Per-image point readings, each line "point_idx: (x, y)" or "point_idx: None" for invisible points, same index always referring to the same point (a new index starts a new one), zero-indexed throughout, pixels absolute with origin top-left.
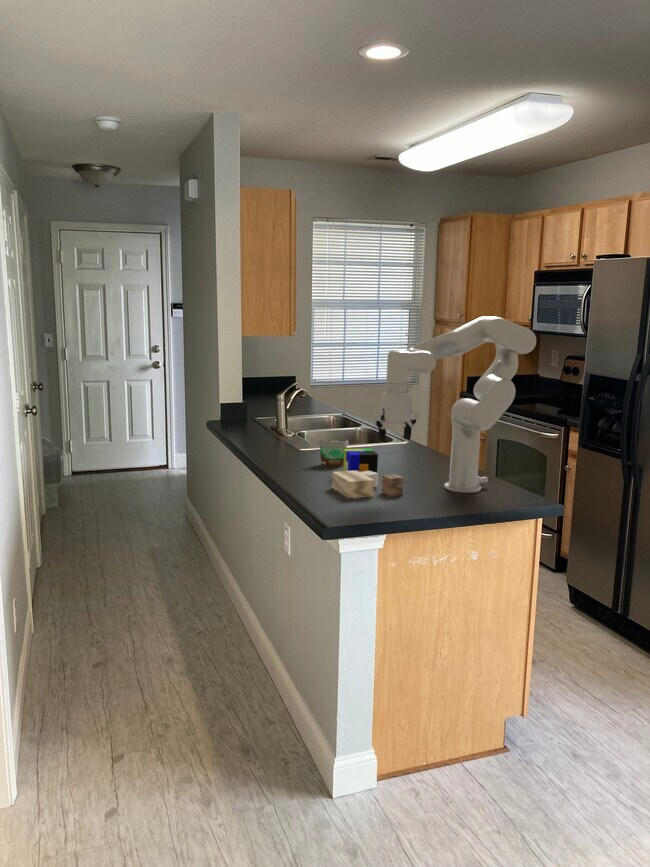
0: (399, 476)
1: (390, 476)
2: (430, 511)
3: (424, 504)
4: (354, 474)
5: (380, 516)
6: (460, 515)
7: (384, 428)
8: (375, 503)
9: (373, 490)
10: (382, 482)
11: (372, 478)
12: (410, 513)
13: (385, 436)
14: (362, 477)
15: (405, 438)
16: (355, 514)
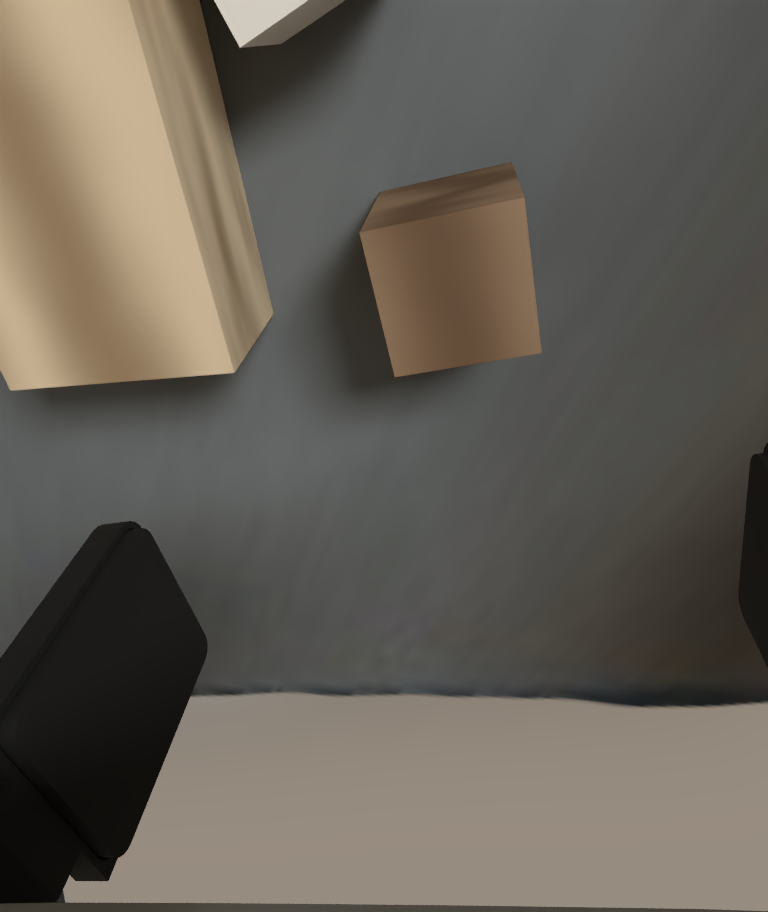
0: (523, 301)
1: (426, 290)
2: (522, 625)
3: (561, 522)
4: (55, 117)
5: (234, 636)
6: (639, 694)
7: (74, 865)
8: (255, 454)
9: (258, 334)
10: (369, 213)
11: (308, 9)
12: (399, 630)
13: (177, 716)
14: (136, 263)
15: (747, 516)
16: None
